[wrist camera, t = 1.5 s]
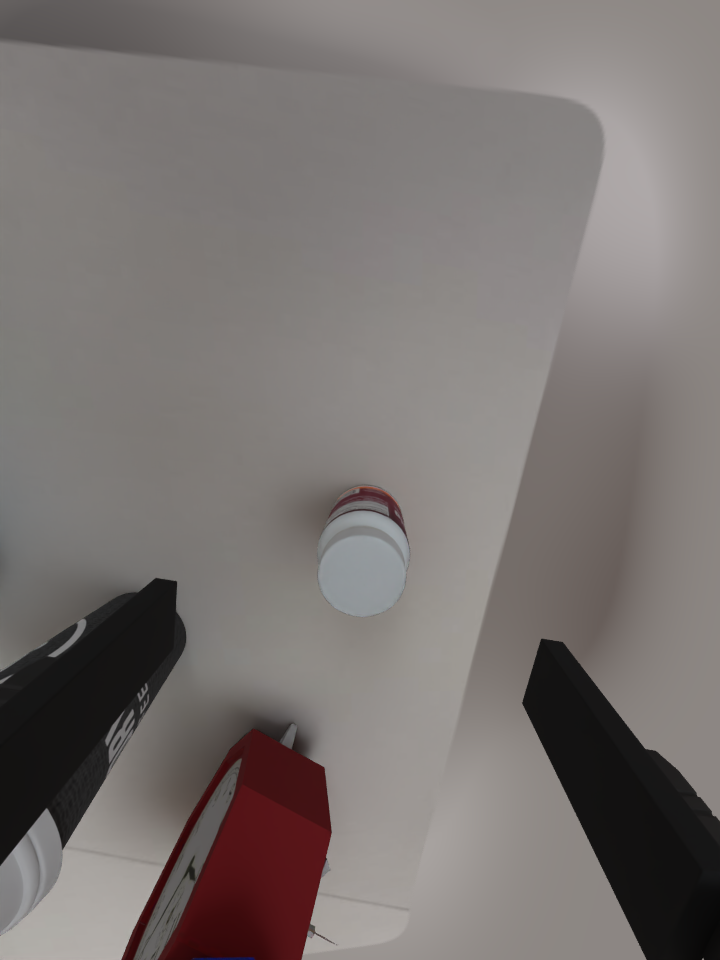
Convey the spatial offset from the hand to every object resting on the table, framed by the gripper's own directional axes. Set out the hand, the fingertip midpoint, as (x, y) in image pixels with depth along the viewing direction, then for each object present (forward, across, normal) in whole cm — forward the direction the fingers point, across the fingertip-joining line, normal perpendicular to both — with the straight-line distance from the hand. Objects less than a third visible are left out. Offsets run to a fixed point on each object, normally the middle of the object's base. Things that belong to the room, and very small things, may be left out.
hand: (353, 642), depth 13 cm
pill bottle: (+12, 0, +1) cm, 12 cm away
